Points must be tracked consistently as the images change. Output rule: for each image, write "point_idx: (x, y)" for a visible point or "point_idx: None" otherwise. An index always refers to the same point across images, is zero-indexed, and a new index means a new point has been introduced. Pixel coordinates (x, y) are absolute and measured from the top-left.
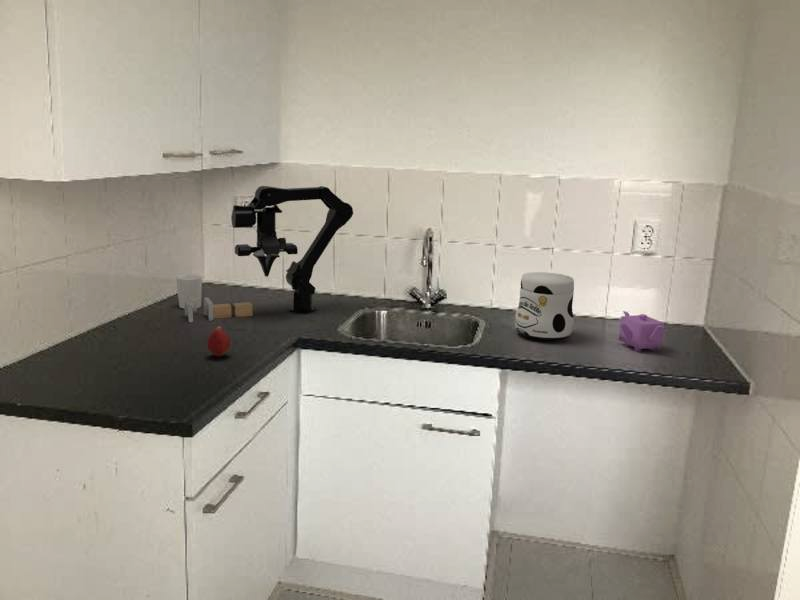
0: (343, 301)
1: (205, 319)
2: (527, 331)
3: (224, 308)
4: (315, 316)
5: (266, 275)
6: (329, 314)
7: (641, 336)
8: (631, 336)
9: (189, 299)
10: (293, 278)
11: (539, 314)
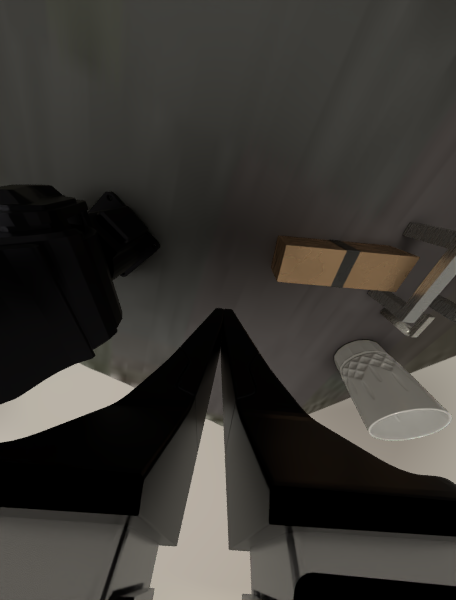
0: None
1: (414, 246)
2: None
3: (378, 252)
4: (75, 136)
5: (226, 311)
6: (21, 147)
7: None
8: None
9: (387, 357)
10: (48, 232)
11: None
